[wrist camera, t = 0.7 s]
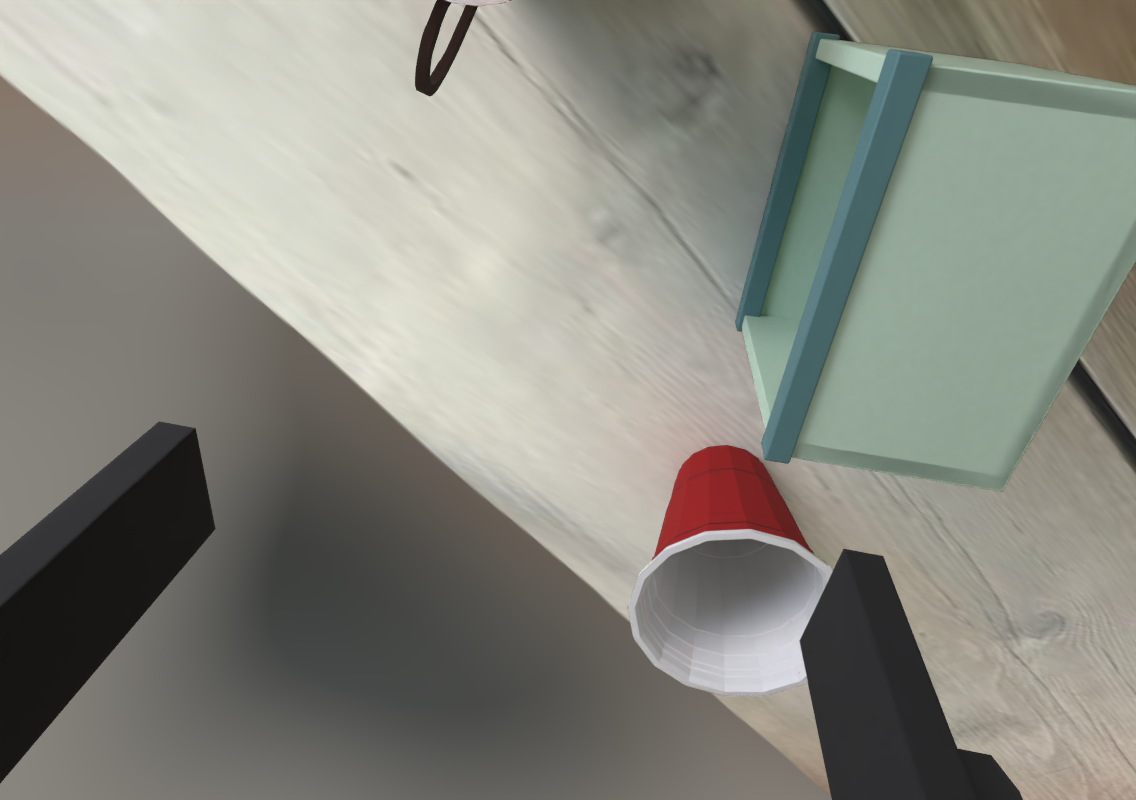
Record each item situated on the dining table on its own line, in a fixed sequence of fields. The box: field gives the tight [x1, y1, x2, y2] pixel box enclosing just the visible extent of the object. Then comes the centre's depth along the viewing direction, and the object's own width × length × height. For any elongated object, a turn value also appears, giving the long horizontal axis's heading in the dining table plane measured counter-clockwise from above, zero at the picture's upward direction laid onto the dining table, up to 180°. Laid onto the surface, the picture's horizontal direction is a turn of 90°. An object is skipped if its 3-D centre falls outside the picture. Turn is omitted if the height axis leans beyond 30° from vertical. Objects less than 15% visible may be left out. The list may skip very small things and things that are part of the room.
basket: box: [735, 32, 1136, 492], centre depth 28 cm, size 14×9×13 cm, turn 174°
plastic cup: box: [628, 445, 833, 696], centre depth 38 cm, size 11×11×12 cm
